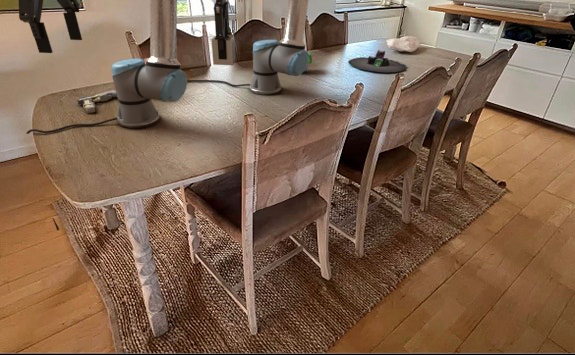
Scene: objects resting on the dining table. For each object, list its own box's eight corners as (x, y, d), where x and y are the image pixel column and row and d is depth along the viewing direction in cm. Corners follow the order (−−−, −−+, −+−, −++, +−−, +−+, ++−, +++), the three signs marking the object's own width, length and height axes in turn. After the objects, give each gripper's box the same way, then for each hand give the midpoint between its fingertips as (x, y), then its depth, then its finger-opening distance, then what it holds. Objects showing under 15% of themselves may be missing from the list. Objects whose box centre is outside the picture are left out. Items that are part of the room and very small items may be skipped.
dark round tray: (418, 67, 219) (420, 52, 215) (377, 75, 202) (379, 59, 197) (375, 58, 244) (377, 43, 239) (336, 64, 226) (337, 49, 222)
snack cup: (305, 67, 213) (306, 49, 208) (316, 72, 206) (318, 53, 200) (283, 70, 206) (283, 52, 200) (293, 75, 198) (294, 56, 193)
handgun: (128, 97, 156) (111, 87, 164) (86, 107, 144) (70, 97, 152) (129, 103, 157) (113, 94, 165) (88, 114, 146) (72, 103, 154)
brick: (233, 65, 128) (231, 40, 123) (213, 64, 128) (211, 39, 123) (235, 60, 132) (234, 36, 128) (216, 60, 132) (214, 36, 128)
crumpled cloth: (372, 47, 255) (376, 34, 249) (400, 41, 275) (404, 29, 269) (399, 60, 243) (404, 46, 237) (427, 52, 263) (432, 40, 257)
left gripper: (11, -57, 68) (48, 59, 79) (79, -56, 89) (100, 35, 100) (-29, -58, 68) (13, 58, 79) (48, -57, 89) (73, 34, 100)
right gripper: (226, -14, 108) (230, 64, 121) (235, -20, 124) (238, 50, 137) (201, -15, 108) (208, 63, 121) (214, -20, 124) (218, 49, 137)
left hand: (62, 45), depth 90 cm, fingers open, 13 cm apart
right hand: (224, 56), depth 129 cm, fingers closed on brick, 6 cm apart
